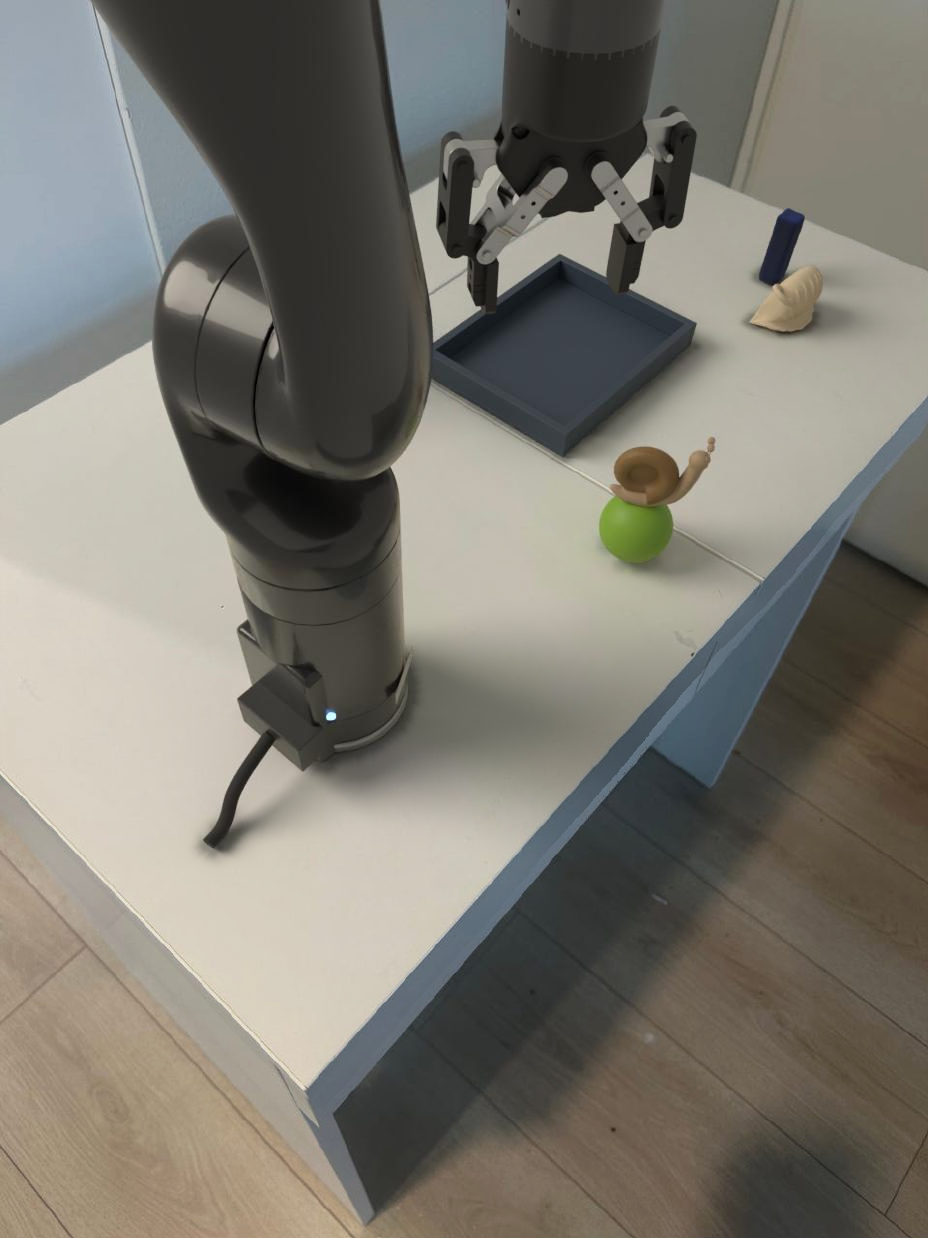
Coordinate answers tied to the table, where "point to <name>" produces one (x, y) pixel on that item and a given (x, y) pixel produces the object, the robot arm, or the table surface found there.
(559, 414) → the tray
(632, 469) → the snail figurine
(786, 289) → the beige curved piece
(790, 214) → the eraser
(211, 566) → the table surface
